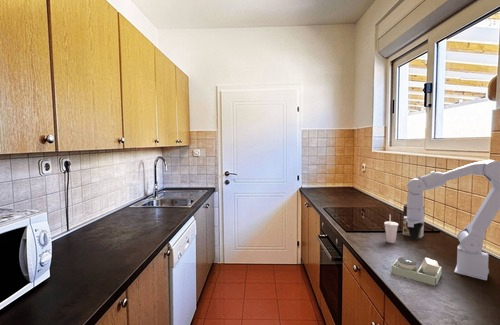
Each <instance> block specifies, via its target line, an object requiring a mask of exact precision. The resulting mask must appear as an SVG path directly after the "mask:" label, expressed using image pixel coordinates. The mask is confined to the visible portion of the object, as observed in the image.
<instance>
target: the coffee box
mask: <svg viewBox="0 0 500 325" xmlns="http://www.w3.org/2000/svg"><path fill="white" fill-rule="evenodd" d="M425 208H426V207H425V206H424V205H423V219H424V220H423V222H420V223H423V226H422V228H421V230H420V233H419V237H418V239H422V238H423V237H424V231H425V229H424V227H425ZM402 209H403V213H402V235H403V236H408V237H410V233H409V230H408V227H407V226H406V223H407V220H406V219H404V216H406V217H407V203H405V204H404V205H403V208H402Z"/></svg>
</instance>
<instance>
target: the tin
mask: <svg viewBox="0 0 500 325" xmlns="http://www.w3.org/2000/svg"><path fill="white" fill-rule="evenodd" d="M397 259H398V267H399V268H403V269H407V270H411V271H414V272H417V271H418V261H417V260H416V259H414V258H412V257H407V256H399V257H398V258H397Z"/></svg>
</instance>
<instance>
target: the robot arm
mask: <svg viewBox="0 0 500 325" xmlns="http://www.w3.org/2000/svg"><path fill="white" fill-rule="evenodd" d="M469 175H474V176H481V177H483V176H484V177H485V178H486V179H487V181H488V182H489V184H490V185H491V188H490V189H489V192H488V193H487V195H486V197H485V198H484V200H483V201H482V203H481V205H480V207H479V208H478V210H477V211H476V213H475V214H474V216H473V217H472V219H471V221H470V222H469V223H468V224H467V225H466V226H465V227H464V229H461V230H460V231H459V232H458V233H457V240H458V241H459V242H460V243H459V244H458V245H457V249H456V250H457V253H456V254H457V255H456V266H455V268H454V273H455V274H458V275H463V276H468V277H471V278H475V279H479V280H483V281H488V276H489V274H490V269H489V253H487V252H484V251H482V249H483V246H484V244H483V243H484V240H485V239H486V231H487V230H488V228H489V227H490V225H491V223H492V222H493V221H494V219H495V217H496V216H497V214H498V212H499V211H500V160H496V159H495V160H494V159H488V158H487V159H485V160H480V161H476V162H472V163H469V164H465V165H463V166H460V167H457V168H455V169H452V170H449V171H446V172H441V171H436V172H435V171H434V170H433V171H430V173H428V174H425V175H422V176H421V175H419V176H418V175H417V178H411V179H410V180H408V182H407V184H406V187H407V196H406V204H407V217H406V216H404V219H406V220H407V223H406V226H407V227H408V230H409V233H410V236H409V237H410V239H411V241H415V242H418V239H419V238H418V237H419V233H420V230H421V228H422V226H423V223H420V222H423V220H424V221H425V218H424V219H423V206H424V196H423V192H424V191H429V190H432V189H437V188H440V187H443V186H444V185H446V183H447V182H448V181H451V180H454V179H458V178H463V177H466V176H469Z"/></svg>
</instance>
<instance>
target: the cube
mask: <svg viewBox="0 0 500 325" xmlns="http://www.w3.org/2000/svg"><path fill="white" fill-rule="evenodd" d="M421 265H422V269H423V272H424V273H427V274H430V275H433V276H436V274H437V272H438V270H439V268H440V267H441V266H440V265H439V263H438V261H437V260H435V259H431V258H429V257H423V260H422V263H421ZM439 266H440V267H439ZM423 272H422V273H423Z"/></svg>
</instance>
